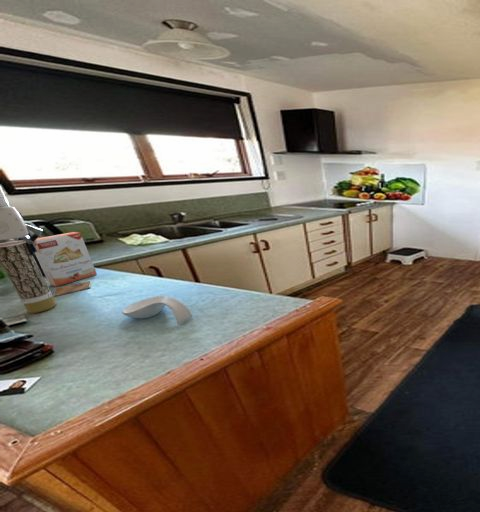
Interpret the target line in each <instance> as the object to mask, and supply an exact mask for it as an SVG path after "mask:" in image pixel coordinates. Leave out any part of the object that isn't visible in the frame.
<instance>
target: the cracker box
mask: <svg viewBox="0 0 480 512" xmlns="http://www.w3.org/2000/svg"><path fill="white" fill-rule="evenodd" d="M33 243H34V245H35V247H36V249H37V252H35V253H36V254H35V255H36V257H37V259H38V261H39V263H40V265H41V267H42V269H43V272H44V274H45V276H44V277H45V278H46V280H47V282H48V284H49V286H53V287H60V286H63V285H68V284H71V283H73V282H77V281H80V280H84V279H87V278H90V277H94V276H97V275H98V273H97V271H96V268H95V266H94V263H93V261H92V259H91V256H90V254H89V251H88V248H87V246H86V243H85V241H84V238H83V235H82V233H81V232H76V231H71V232H66V233H60V234H55V235H49V236H48V235H47V236H43V237H38V238H37V239H36V240H35V241H34V242H33Z"/></svg>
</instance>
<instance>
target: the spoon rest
mask: <svg viewBox="0 0 480 512" xmlns="http://www.w3.org/2000/svg"><path fill="white" fill-rule="evenodd" d="M165 307H167V308H169V309H170V310H171V311H172V313H173V314H174V318H175V320H176V324H177V325H180V324H182V323H183V322H185V321H187V320H189V319H191V318H192V317H193V313H192V312H191V311H190V310H189V308H188V307H187V306H186V305H184V303H182V302H181V301H179V300H178V299H176V298H174V297H171V296H166V295H158V296H151V297H147V298H145V299H141V300H139V301H136V302H134V303H132V304H130V305H127V306H126V307H124V308H123V309H122V310H121V314H123V315H124V316H126V317H129V318H133V319H134V318H135V319H141V320H142V319H143V320H144V319H148V318H152V317H154V316H157V315H158V314H160V313H161V311H163V309H164V308H165Z"/></svg>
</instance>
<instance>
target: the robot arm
mask: <svg viewBox="0 0 480 512" xmlns="http://www.w3.org/2000/svg"><path fill="white" fill-rule="evenodd" d="M19 213H20V212H19V211H18V210H17V209H16V207H14V206H11V205H10V203H9V201H8V199H7V197H6V195H5V193H4V191H3V188H2V187H1V185H0V241H7V240H15V239H18V238H21V239H22V240H24V241H25V242H26V243H27V244H26V246H27V248H28V250H29V252H30V254H31V255H35V254H36V253H35V252H37V249H36V247H35V245H34V243H33V242H34V241H35V240H36V239H37V238H40V236H41V234H42V233H43V231H44V230H43V229H42V228H40V227H39V228H38V227H35V226H32V225H30V224H27V223H26V222H25V221H24V220H25V219H24V218H23V219H24V220H23V219H22V217H23V216H22V217H21V216H20V214H19ZM31 231H32V232H33V234H32V237H31V238H30V237H29V236H27V235H28V234H29V232H31Z"/></svg>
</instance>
